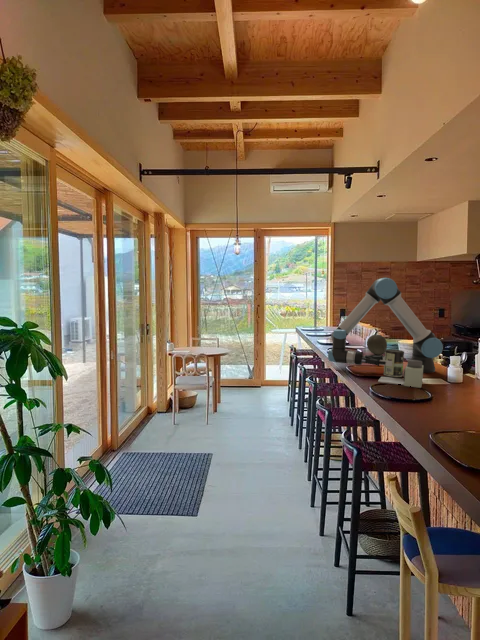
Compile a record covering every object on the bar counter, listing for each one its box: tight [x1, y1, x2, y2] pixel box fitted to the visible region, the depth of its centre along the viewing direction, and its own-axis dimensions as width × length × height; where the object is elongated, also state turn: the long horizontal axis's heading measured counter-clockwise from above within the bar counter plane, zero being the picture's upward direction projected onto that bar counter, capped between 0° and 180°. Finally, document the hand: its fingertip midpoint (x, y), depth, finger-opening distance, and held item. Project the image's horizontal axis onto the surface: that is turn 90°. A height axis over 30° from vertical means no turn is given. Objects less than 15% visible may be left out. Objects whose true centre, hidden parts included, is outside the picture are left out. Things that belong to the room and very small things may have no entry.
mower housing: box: [377, 359, 424, 389], centre depth 235 cm, size 21×16×12 cm
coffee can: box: [383, 348, 405, 378], centre depth 253 cm, size 10×10×14 cm
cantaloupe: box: [366, 334, 388, 356], centre depth 325 cm, size 14×14×15 cm
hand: (393, 361), depth 252 cm, fingers open, 13 cm apart
